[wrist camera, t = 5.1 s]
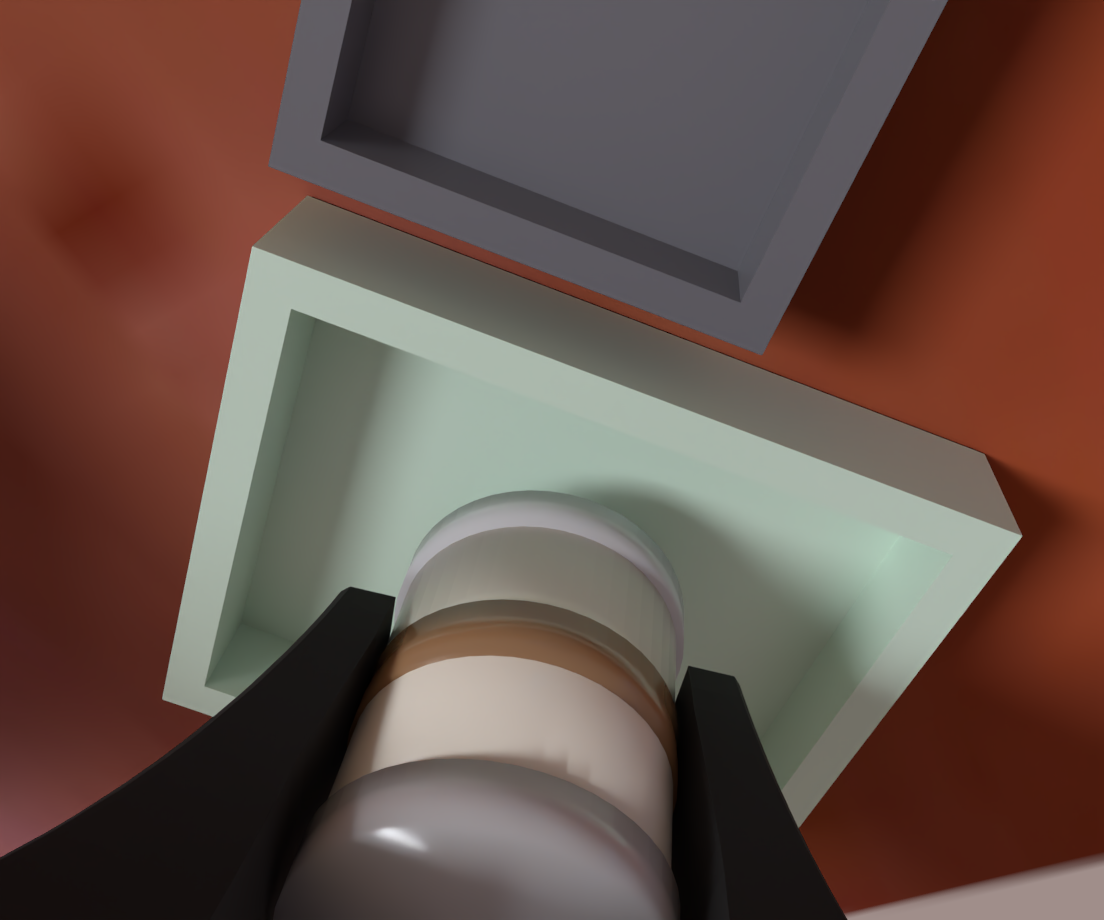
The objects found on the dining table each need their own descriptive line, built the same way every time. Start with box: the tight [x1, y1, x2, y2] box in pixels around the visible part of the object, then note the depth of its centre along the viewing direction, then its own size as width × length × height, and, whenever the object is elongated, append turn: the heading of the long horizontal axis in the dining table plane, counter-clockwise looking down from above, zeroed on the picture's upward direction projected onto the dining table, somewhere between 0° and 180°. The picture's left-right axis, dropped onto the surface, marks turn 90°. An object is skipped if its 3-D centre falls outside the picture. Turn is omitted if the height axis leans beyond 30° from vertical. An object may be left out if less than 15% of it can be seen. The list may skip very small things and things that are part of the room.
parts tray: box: [162, 196, 1022, 828], centre depth 15 cm, size 10×8×2 cm
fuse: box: [273, 490, 684, 920], centre depth 12 cm, size 4×4×6 cm
